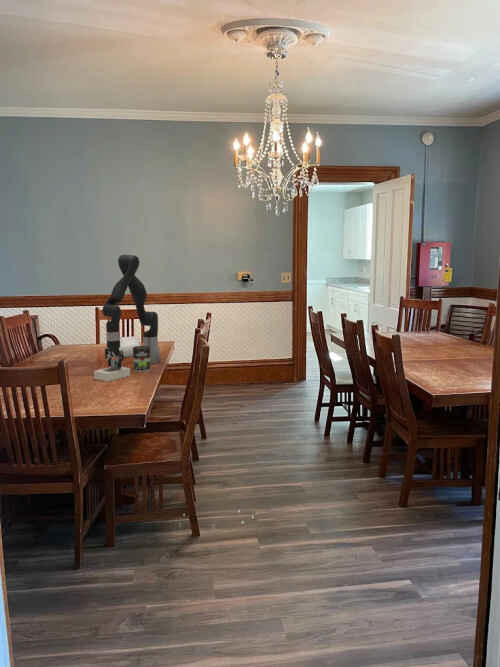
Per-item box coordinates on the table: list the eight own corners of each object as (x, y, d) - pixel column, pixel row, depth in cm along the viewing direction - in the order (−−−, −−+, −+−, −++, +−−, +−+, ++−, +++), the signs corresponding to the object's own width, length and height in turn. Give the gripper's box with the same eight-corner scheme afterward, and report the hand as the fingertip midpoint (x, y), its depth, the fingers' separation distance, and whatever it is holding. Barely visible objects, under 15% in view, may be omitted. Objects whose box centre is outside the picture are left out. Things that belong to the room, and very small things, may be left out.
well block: (117, 373, 305) (116, 365, 304) (130, 375, 297) (129, 368, 297) (94, 378, 292) (93, 370, 292) (107, 381, 285) (106, 373, 284)
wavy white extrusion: (142, 357, 349) (142, 342, 347) (118, 359, 343) (117, 344, 341) (134, 348, 381) (134, 334, 379) (112, 350, 375) (111, 336, 373)
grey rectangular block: (115, 374, 299) (114, 359, 297) (119, 375, 296) (118, 360, 295) (105, 376, 294) (104, 361, 292) (109, 377, 291) (108, 362, 290)
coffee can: (151, 371, 308) (150, 348, 306) (134, 372, 306) (132, 349, 303) (150, 367, 318) (149, 345, 316) (133, 368, 315) (132, 346, 313)
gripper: (126, 339, 291) (127, 367, 294) (110, 337, 300) (112, 364, 303) (115, 341, 286) (117, 370, 288) (100, 339, 294) (101, 366, 297)
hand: (114, 367), depth 295 cm, fingers open, 8 cm apart
